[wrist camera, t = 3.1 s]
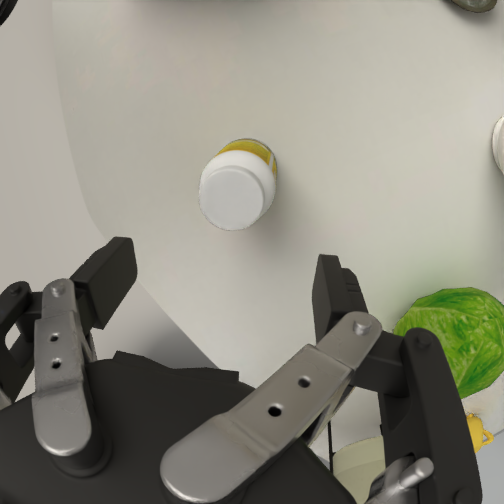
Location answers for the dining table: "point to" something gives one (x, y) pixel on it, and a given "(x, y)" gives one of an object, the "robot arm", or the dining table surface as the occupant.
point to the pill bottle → (238, 184)
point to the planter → (358, 464)
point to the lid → (476, 5)
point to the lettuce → (463, 333)
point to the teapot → (478, 432)
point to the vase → (499, 143)
